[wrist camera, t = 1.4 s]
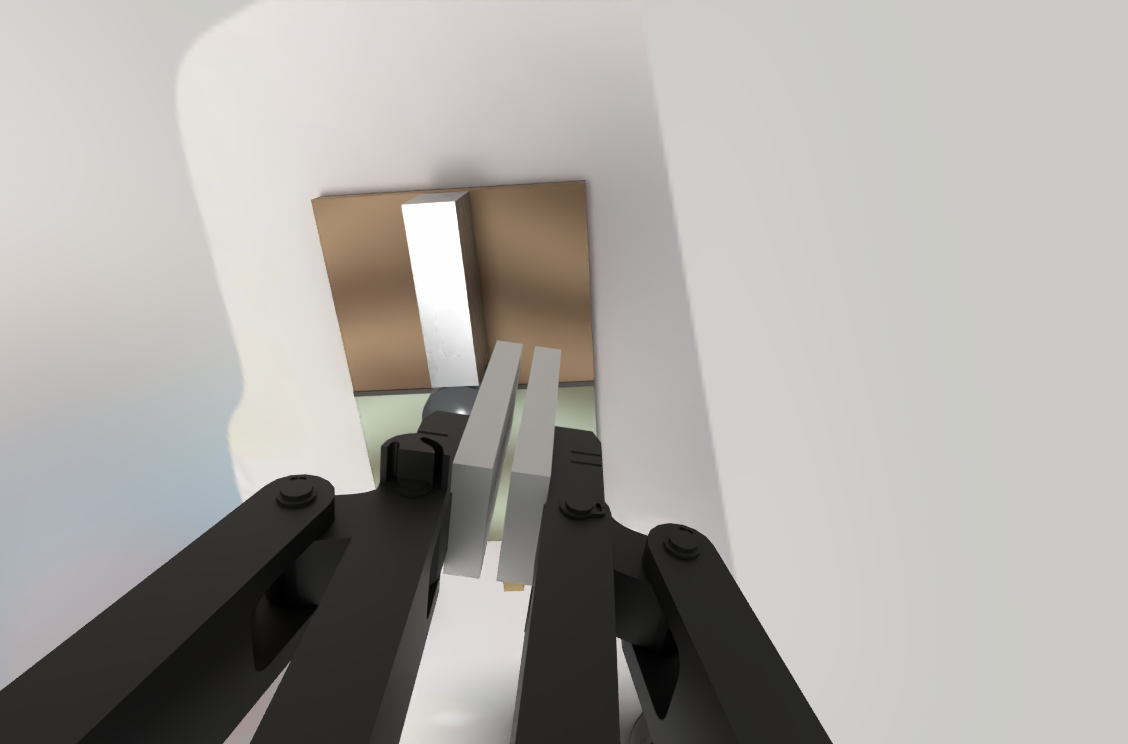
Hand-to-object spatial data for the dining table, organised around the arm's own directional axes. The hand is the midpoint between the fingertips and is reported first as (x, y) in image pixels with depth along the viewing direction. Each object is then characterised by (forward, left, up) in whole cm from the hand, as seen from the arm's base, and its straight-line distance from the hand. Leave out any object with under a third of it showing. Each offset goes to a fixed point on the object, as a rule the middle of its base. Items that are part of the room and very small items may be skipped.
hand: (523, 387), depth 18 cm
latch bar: (-3, +5, -15) cm, 16 cm away
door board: (-7, +5, -16) cm, 19 cm away
